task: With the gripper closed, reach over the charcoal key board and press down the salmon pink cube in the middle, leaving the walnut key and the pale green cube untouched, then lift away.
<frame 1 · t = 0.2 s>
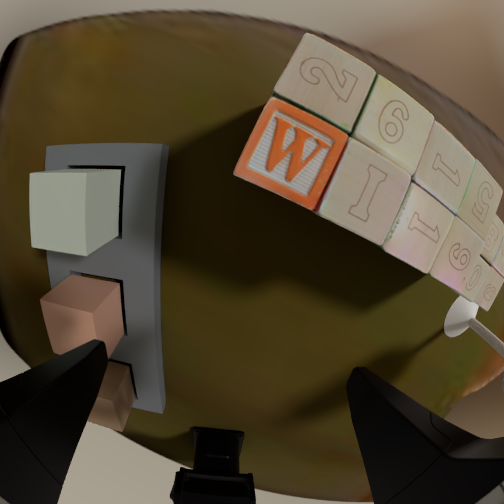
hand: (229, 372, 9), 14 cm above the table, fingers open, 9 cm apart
champagne flute: (461, 313, 26), on the table
walnut key: (102, 393, 21), point 5 cm above the table, slide at 0.0 cm
key board: (106, 294, 23), on the table
stack of blocks: (368, 195, 21), on the table
pale green cube: (75, 206, 16), point 5 cm above the table, slide at 0.0 cm
salmon pink cube: (84, 318, 18), point 5 cm above the table, slide at 0.0 cm
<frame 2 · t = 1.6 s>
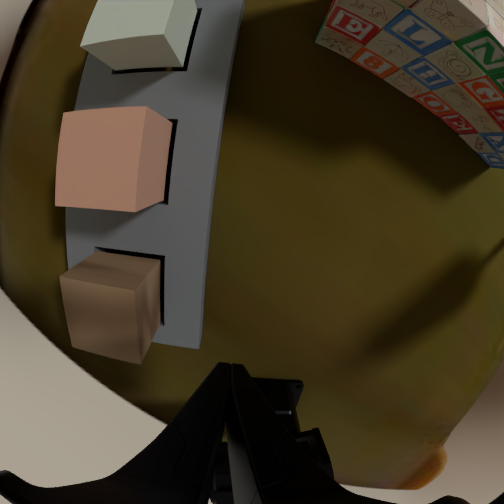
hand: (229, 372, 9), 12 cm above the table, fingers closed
walnut key: (114, 303, 16), point 5 cm above the table, slide at 0.0 cm
key board: (142, 160, 18), on the table
stack of blocks: (428, 82, 17), on the table
pale green cube: (144, 22, 11), point 5 cm above the table, slide at 0.0 cm
salmon pink cube: (115, 158, 13), point 5 cm above the table, slide at 0.0 cm
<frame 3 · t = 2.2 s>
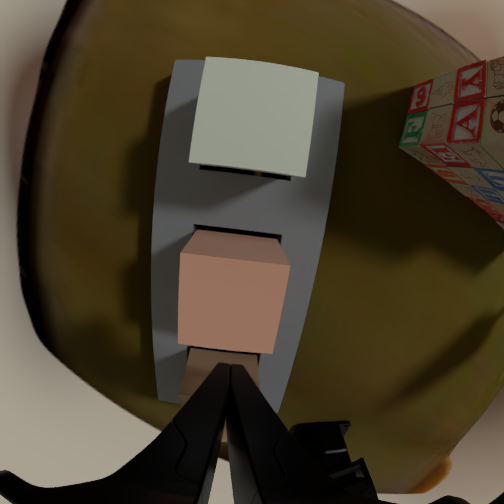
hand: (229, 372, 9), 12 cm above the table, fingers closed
walnut key: (219, 397, 18), point 5 cm above the table, slide at 0.0 cm
key board: (233, 261, 20), on the table
stack of blocks: (479, 174, 19), on the table
pale green cube: (253, 122, 13), point 5 cm above the table, slide at 0.0 cm
salmon pink cube: (231, 287, 15), point 5 cm above the table, slide at 0.0 cm
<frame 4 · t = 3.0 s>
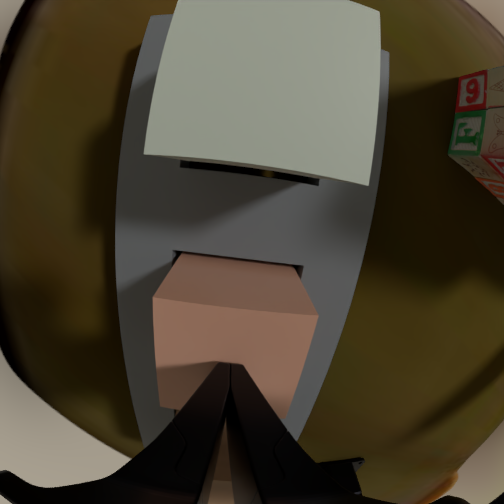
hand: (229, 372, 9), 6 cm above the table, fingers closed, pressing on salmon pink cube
walnut key: (216, 461, 12), point 5 cm above the table, slide at 0.0 cm
key board: (232, 296, 14), on the table
pale green cube: (265, 88, 7), point 5 cm above the table, slide at 0.0 cm
salmon pink cube: (230, 331, 11), point 3 cm above the table, slide at 1.3 cm, touching gripper
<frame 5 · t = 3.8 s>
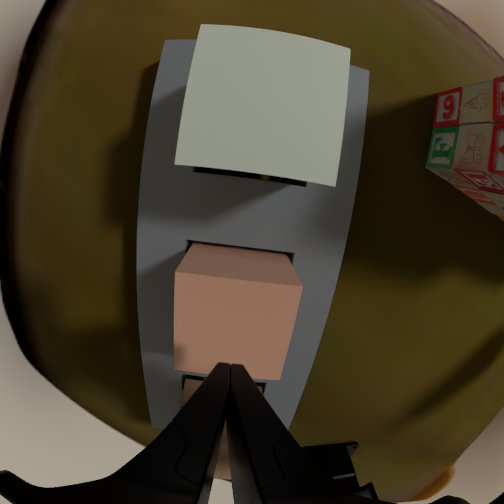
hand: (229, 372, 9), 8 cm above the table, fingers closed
walnut key: (219, 433, 15), point 5 cm above the table, slide at 0.0 cm
key board: (234, 281, 17), on the table
stack of blocks: (503, 186, 16), on the table
pale green cube: (261, 111, 10), point 5 cm above the table, slide at 0.0 cm
salmon pink cube: (233, 306, 14), point 3 cm above the table, slide at 1.4 cm
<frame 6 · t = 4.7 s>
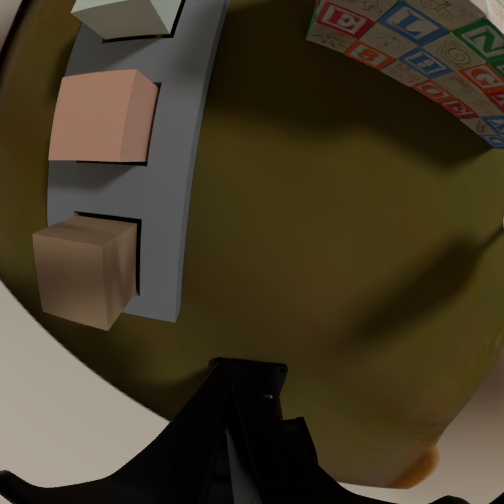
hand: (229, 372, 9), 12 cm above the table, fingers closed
walnut key: (87, 267, 15), point 5 cm above the table, slide at 0.0 cm
key board: (126, 125, 16), on the table
stack of blocks: (424, 68, 16), on the table
salmon pink cube: (106, 120, 13), point 3 cm above the table, slide at 1.4 cm
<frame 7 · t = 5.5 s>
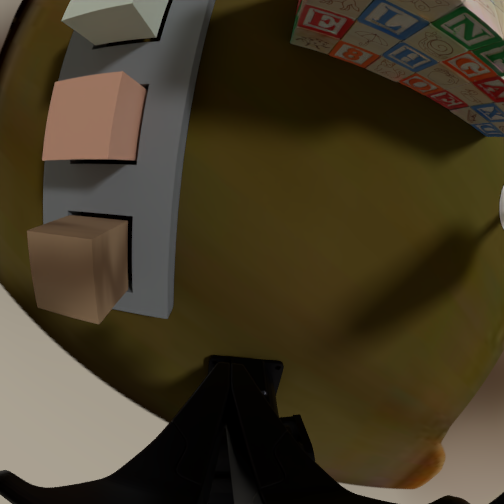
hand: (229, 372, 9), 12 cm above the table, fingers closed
walnut key: (80, 263, 15), point 5 cm above the table, slide at 0.0 cm
key board: (117, 127, 17), on the table
stack of blocks: (410, 61, 16), on the table
salmon pink cube: (97, 121, 14), point 3 cm above the table, slide at 1.4 cm
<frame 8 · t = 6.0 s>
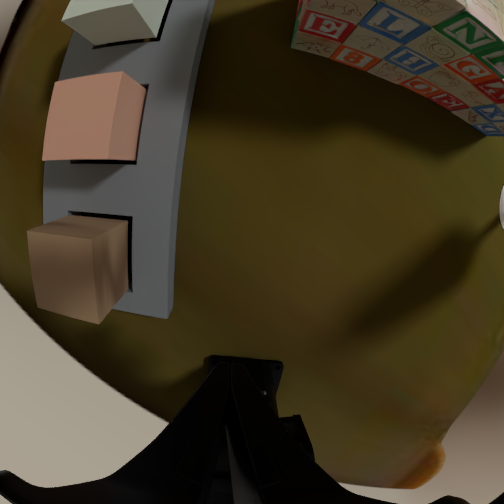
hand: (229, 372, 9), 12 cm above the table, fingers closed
walnut key: (80, 263, 15), point 5 cm above the table, slide at 0.0 cm
key board: (117, 127, 17), on the table
stack of blocks: (410, 63, 16), on the table
salmon pink cube: (97, 121, 14), point 3 cm above the table, slide at 1.4 cm
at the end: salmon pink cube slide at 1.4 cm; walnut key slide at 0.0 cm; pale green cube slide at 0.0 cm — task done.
